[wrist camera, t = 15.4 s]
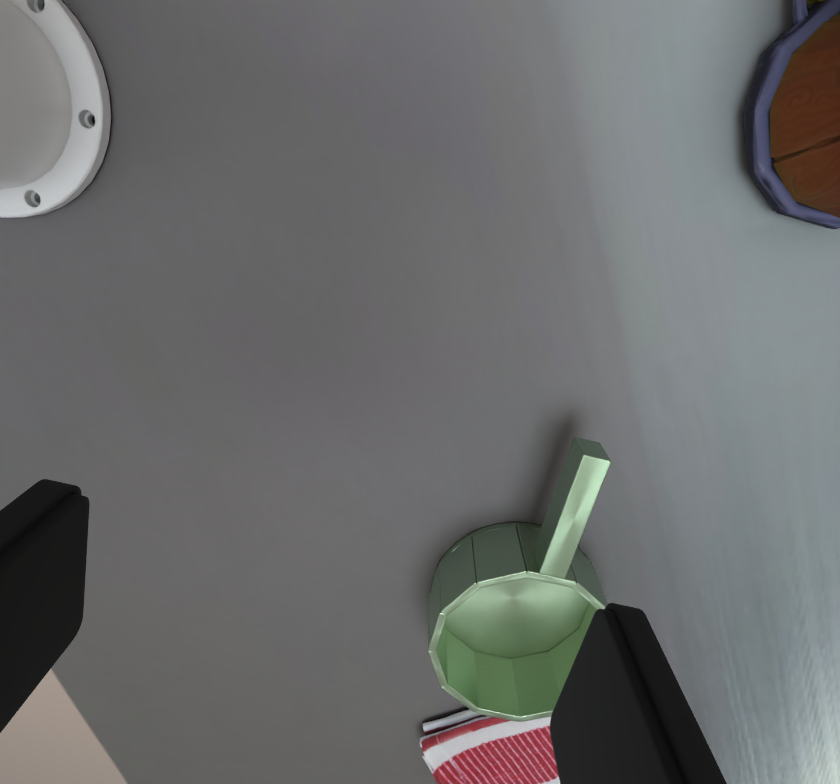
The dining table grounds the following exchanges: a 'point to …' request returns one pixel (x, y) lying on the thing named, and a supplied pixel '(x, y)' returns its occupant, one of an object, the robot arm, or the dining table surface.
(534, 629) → the green saucepan
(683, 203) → the dining table surface
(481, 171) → the dining table surface
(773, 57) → the mug
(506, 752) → the dish towel
